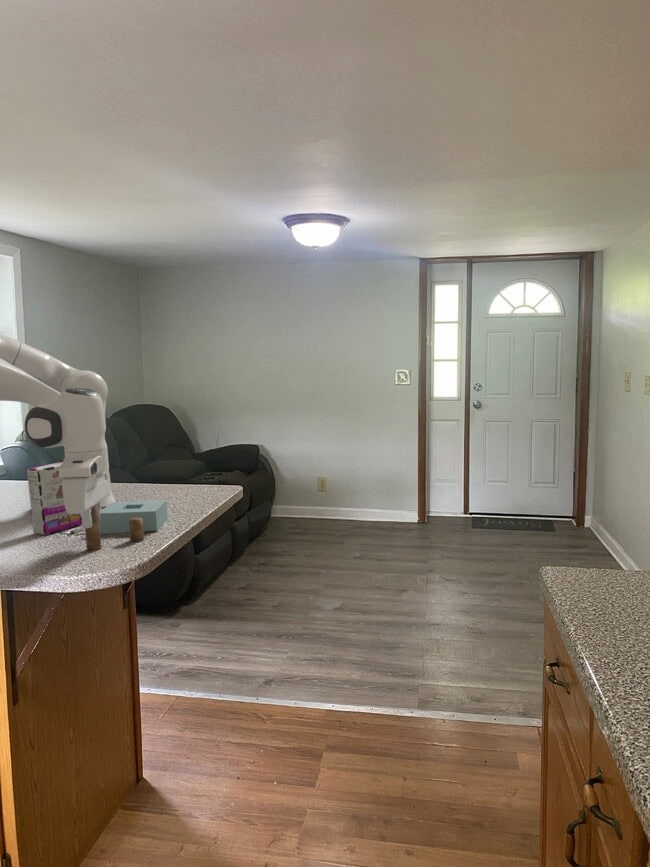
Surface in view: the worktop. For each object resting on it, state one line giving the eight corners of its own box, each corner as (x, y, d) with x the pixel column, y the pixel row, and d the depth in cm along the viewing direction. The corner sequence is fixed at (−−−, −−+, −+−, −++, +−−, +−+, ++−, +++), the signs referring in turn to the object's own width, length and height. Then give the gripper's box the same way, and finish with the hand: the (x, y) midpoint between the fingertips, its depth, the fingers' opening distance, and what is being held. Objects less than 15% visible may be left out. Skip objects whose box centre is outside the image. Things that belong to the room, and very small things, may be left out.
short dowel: (129, 542, 150) (127, 520, 149) (132, 538, 153) (130, 517, 152) (142, 541, 150) (140, 520, 149) (145, 538, 153) (143, 517, 152)
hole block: (98, 533, 158) (97, 513, 157) (113, 521, 170) (111, 502, 169) (157, 531, 158) (155, 511, 158) (167, 519, 170) (166, 500, 170)
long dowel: (84, 551, 144) (80, 497, 142) (89, 547, 147) (85, 494, 145) (98, 550, 144) (94, 497, 142) (103, 546, 147) (98, 494, 145)
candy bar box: (70, 523, 170) (65, 460, 168) (83, 525, 167) (78, 461, 165) (31, 533, 160) (25, 467, 158) (44, 536, 158) (38, 469, 156)
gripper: (88, 455, 153) (92, 513, 155) (55, 471, 133) (60, 537, 134) (115, 454, 153) (119, 512, 155) (86, 470, 133) (91, 536, 135)
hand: (92, 524), depth 145 cm, fingers open, 3 cm apart
